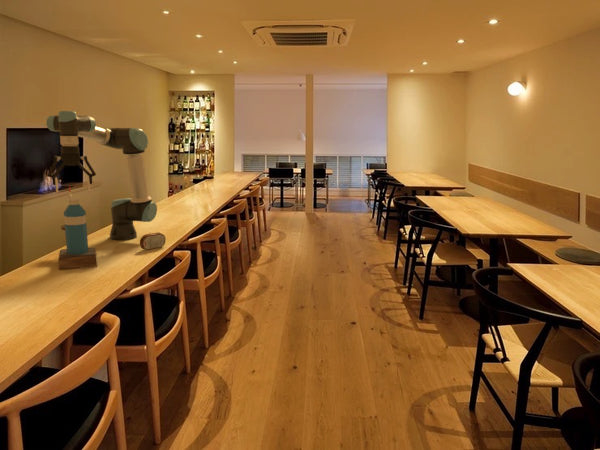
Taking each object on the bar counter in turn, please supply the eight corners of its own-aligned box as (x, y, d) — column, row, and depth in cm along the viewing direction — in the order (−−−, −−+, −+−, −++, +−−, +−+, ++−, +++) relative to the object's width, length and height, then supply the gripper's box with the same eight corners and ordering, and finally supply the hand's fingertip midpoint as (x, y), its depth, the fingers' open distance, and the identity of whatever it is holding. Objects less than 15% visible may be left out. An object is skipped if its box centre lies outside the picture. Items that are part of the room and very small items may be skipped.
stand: (60, 261, 238) (59, 249, 237) (96, 258, 244) (95, 246, 243) (59, 270, 224) (58, 257, 223) (96, 266, 230) (96, 254, 229)
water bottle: (88, 253, 231) (84, 201, 226) (66, 255, 227) (62, 202, 222) (88, 248, 239) (84, 198, 234) (67, 250, 235) (63, 199, 230)
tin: (163, 245, 272) (162, 231, 271) (166, 246, 270) (166, 231, 269) (139, 250, 261) (138, 235, 259) (143, 251, 259) (142, 236, 257)
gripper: (38, 145, 215) (42, 193, 219) (99, 145, 225) (102, 191, 229) (39, 145, 221) (44, 191, 226) (99, 145, 231) (101, 189, 236)
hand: (73, 191), depth 227 cm, fingers open, 13 cm apart
